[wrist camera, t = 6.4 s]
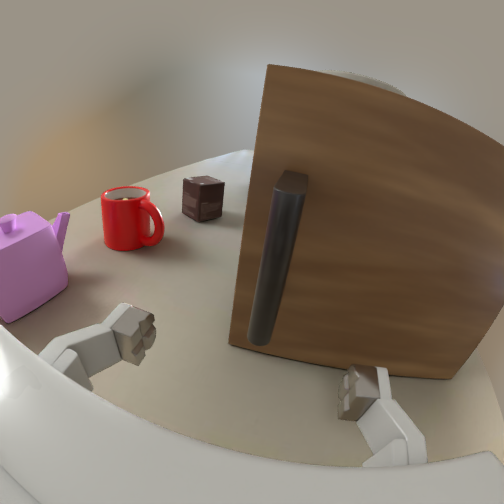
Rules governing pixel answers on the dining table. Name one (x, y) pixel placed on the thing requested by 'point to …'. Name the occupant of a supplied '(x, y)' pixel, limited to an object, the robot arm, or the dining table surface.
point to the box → (202, 198)
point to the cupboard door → (368, 230)
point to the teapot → (30, 262)
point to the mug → (130, 218)
